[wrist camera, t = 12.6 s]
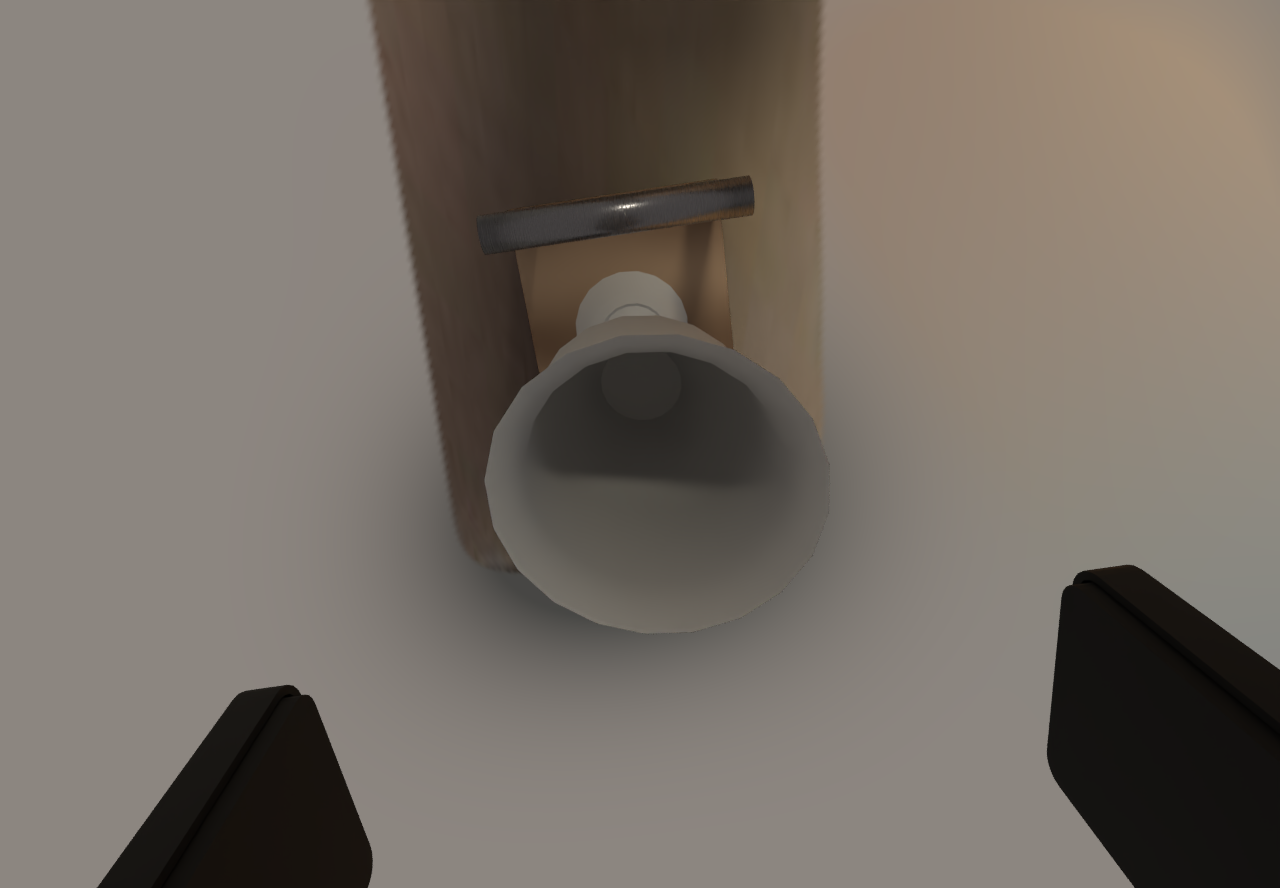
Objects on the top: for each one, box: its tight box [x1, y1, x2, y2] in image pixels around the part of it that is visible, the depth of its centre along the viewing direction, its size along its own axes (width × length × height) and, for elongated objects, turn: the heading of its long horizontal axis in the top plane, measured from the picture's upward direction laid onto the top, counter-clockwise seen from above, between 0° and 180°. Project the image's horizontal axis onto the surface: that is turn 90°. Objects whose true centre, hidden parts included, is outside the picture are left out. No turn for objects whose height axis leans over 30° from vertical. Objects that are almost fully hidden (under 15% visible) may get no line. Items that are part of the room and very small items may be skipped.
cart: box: [477, 175, 754, 374], centre depth 29 cm, size 12×9×13 cm
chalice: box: [484, 271, 829, 634], centre depth 23 cm, size 7×7×18 cm
